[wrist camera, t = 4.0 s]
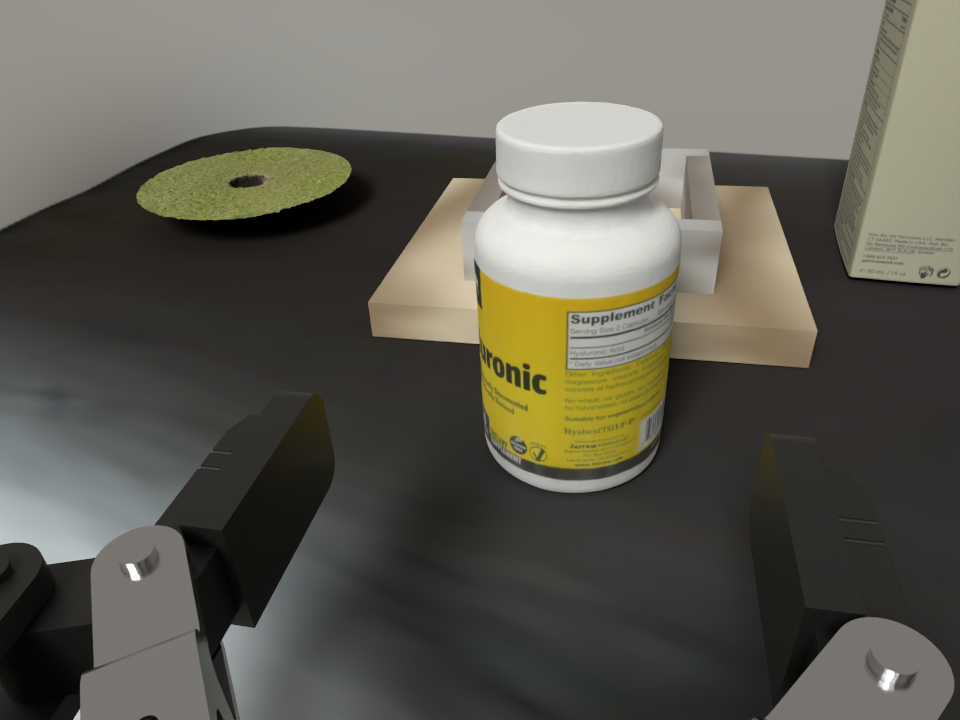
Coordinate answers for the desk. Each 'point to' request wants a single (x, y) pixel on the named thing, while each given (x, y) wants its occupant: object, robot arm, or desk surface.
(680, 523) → the desk surface
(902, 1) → the skincare box
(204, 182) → the green disc with hole
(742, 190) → the socket board
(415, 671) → the desk surface
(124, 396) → the desk surface
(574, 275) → the supplement bottle
